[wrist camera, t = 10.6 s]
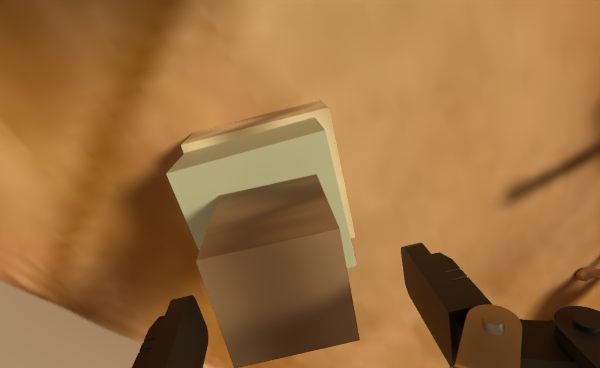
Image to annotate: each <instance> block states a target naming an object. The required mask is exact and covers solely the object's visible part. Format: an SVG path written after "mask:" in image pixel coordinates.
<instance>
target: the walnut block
mask: <svg viewBox="0 0 600 368" xmlns="http://www.w3.org/2000/svg"><path fill="white" fill-rule="evenodd" d="M196 263H197V266H198V269H199V271H200V274H201V277H202V280H203V283H204V285H205V288H206V291H207V294H208V296H209V299H210V302H211V305H212V307H213V310H214V313H215V316H216V319H217V321H218V324H219V327H220V330H221V332H222V335H223V338H224V341H225V343H226V346H227V349H228V352H229V355H230V357H231V360H232V363H233V366H234V368H239V367H243V366H248V365H252V364H256V363H261V362H265V361H270V360H274V359H279V358H283V357H287V356H292V355H296V354H301V353H305V352H309V351H314V350H318V349H323V348H327V347H332V346H336V345H340V344H345V343H349V342H354V341H358V340H360V339H359V334H358V328H357V322H356V317H355V311H354V306H353V300H352V295H351V289H350V284H349V278H348V272H347V267H346V261H345V256H344V250H343V245H342V239H341V233H340V228H339V226H338V224H337V221H336V219H335V217H334V214H333V212H332V210H331V207H330V205H329V203H328V200H327V198H326V195H325V193H324V191H323V188H322V186H321V184H320V181H319V179H318V177H317V174H315V175H310V176H306V177H301V178H296V179H292V180H287V181H283V182H278V183H274V184H269V185H265V186H260V187H255V188H251V189H246V190H242V191H237V192H233V193H228V194H224V195H219V198H218V201H217V203H216V206H215V209H214V212H213V214H212V217H211V220H210V223H209V225H208V228H207V231H206V234H205V236H204V239H203V242H202V245H201V247H200V250H199V253H198V256H197V258H196Z"/></svg>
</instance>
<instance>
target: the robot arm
mask: <svg viewBox="0 0 600 368" xmlns="http://www.w3.org/2000/svg"><path fill="white" fill-rule="evenodd" d="M401 255H402V263H403V271H404V279H405V284H406V288H407V291H408V294H409V296H410V298H411V299H412V301H413V303H414V305H415V306H416V308H417V310H418V312H419V313H420V315H421V317H422V319H423V320H424V322H425V324H426V325H427V327H428V329H429V331H430V332H431V334H432V336H433V338H434V339H435V341H436V343H437V344H438V346H439V348H440V350H441V351H442V353H443V355H444V357H445V358H446V360H447V362H448V364H449V365H450V367H449V368H600V311H597V310H594V309H591V308H587V307H581V306H568V307H564V308H561V309H559V310H558V311H557V312H556V313H555V316H554V321H533V320H522V319H519V318H518V317H517V316H516V315H515V314H514V313H512V312H511V311H509V310H507V309H505V308H503V307H500V306H496V305H492V303H491V302H490V301H489V300H488V299H487V298H486V297H485V296H484V294H483V293H482V292H481V291H480V290H479V289H478V288H477V287H476V286H475V284H474V283H473V282H472V281H471V280H470V279H469V278H467V275H466V274H465V273H464V272H463V271H462V270H460V268H459V266H458V265H457V264H456V263H455V262H454V261H453V260H452V259H451V258H449V257H447V256H445V255H443V254H441V253H435V254H431V253H430V252H429V251H428V250H427V248H426V247H425V246H424V245H423V244H422V243H417V244H413V245H408V246H404V247H402V248H401ZM207 346H208V330H207V326H206V324H205V321H204V319H203V316H202V314H201V311H200V309H199V306H198V304H197V301H196V299H195V297H194V296H193V295H191V296H186V297H182V298H178V299H173V300H171V302H170V304H169V306H168V309H167V311H166V314H165V316H161V317H159V318H158V319H157V320H156V321H155V322H154V324H153V325H152V326H151V327H150V328H149V330H148V333H147V335H146V337H145V339H144V343H143V344H142V346H141V348H140V353H138V355H137V357H136V360H135V362H134V364H133V366H132V368H203V364H204V360H205V355H206V350H207Z"/></svg>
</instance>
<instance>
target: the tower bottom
mask: <svg viewBox="0 0 600 368" xmlns="http://www.w3.org/2000/svg"><path fill="white" fill-rule="evenodd" d="M313 117H315V118H316V119H317V120H318V122H319V123H320V124H321V125H322V127H323V128H324V129H325V131H326V136H327V140H328V144H329V149H330V153H331V157H332V161H333V166H334V170H335V174H336V178H337V183H338V187H339V191H340V196H341V200H342V204H343V208H344V213H345V217H346V221H347V225H348V230H349V234H350V238H355V233H354V228H353V223H352V219H351V214H350V209H349V204H348V199H347V194H346V189H345V184H344V180H343V175H342V170H341V165H340V160H339V155H338V150H337V145H336V141H335V136H334V131H333V126H332V121H331V116H330V111H329V107H328V106H326V105H325V104H324V103H323V102H321V101H320V100H319V101H315V102H311V103H307V104H303V105H299V106H295V107H291V108H288V109H284V110H280V111H276V112H272V113H268V114H264V115H260V116H256V117H252V118H248V119H245V120H241V121H237V122H233V123H229V124H225V125H221V126H217V127H213V128H209V129H205V130H202V131H198V132H194V133H192V134H191V135H190V136H189V137H188V138H187V139H186V140H185V141H184V142H183V143H182V144H181V147H182V150H183V153H186V152H189V151H193V150H197V149H200V148H204V147H208V146H211V145H215V144H218V143H222V142H226V141H229V140H233V139H237V138H240V137H244V136H247V135H251V134H255V133H258V132H262V131H266V130H269V129H273V128H276V127H280V126H284V125H287V124H291V123H295V122H298V121H302V120H305V119H309V118H313Z"/></svg>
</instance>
